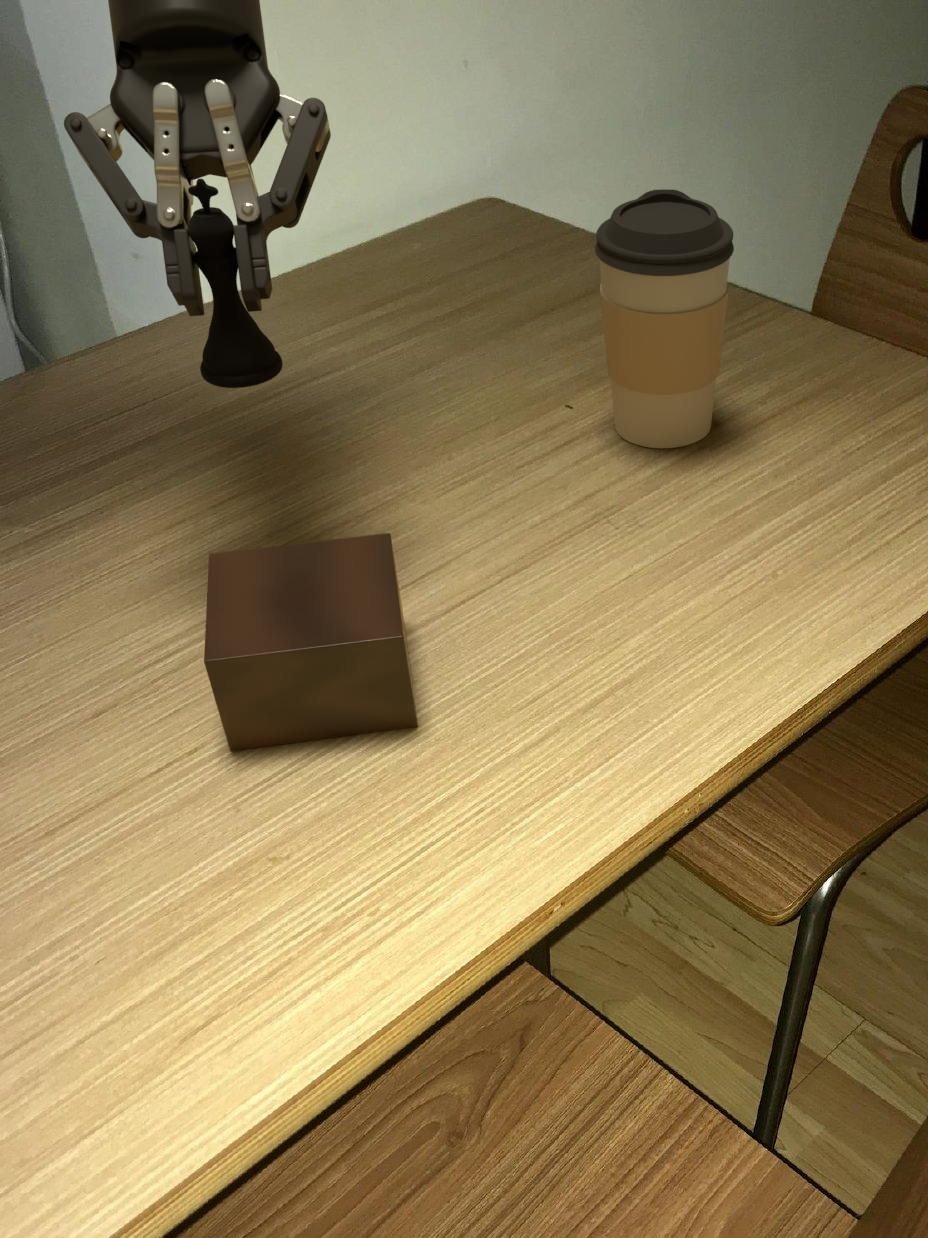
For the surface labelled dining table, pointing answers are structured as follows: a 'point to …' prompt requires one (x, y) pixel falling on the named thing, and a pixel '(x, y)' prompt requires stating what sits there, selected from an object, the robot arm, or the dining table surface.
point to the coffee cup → (663, 314)
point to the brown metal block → (307, 642)
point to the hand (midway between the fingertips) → (223, 306)
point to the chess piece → (227, 304)
